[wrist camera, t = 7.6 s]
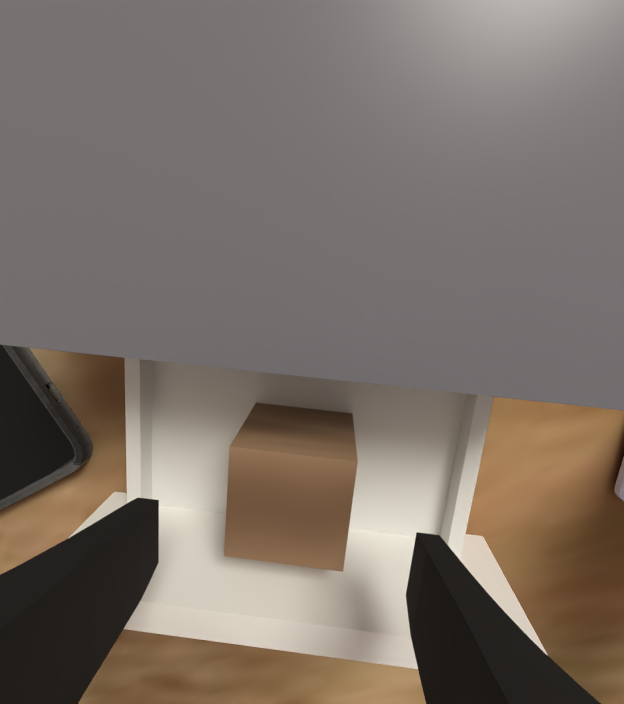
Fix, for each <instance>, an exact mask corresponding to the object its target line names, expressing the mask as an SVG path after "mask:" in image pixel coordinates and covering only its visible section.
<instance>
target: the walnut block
mask: <svg viewBox="0 0 624 704" xmlns="http://www.w3.org/2000/svg"><path fill="white" fill-rule="evenodd" d="M357 464H358V459H357V450H356V441H355V432H354V423H353V414H352V413H344V412H335V411H326V410H318V409H309V408H300V407H291V406H282V405H274V404H265V403H255V405H254V407H253V408H252V410H251V412H250V413H249V415H248V417H247V418H246V420H245V422H244V423H243V425H242V427H241V428H240V430H239V432H238V433H237V435H236V437H235V438H234V440H233V442H232V443H231V445H230V448H229V467H228V486H227V505H226V525H225V544H224V556H226V557H234V558H242V559H249V560H257V561H265V562H272V563H280V564H288V565H295V566H303V567H311V568H318V569H326V570H334V571H341V572H343V568H344V561H345V553H346V546H347V539H348V531H349V524H350V516H351V509H352V501H353V494H354V486H355V479H356V471H357Z"/></svg>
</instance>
